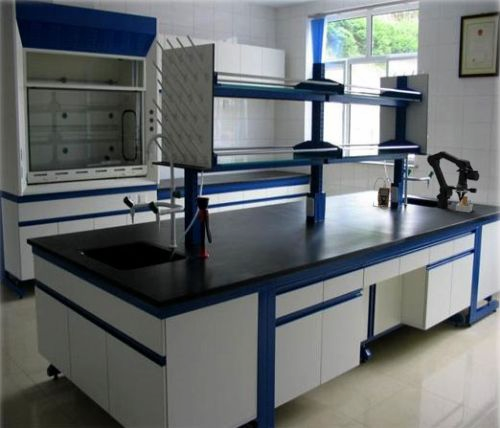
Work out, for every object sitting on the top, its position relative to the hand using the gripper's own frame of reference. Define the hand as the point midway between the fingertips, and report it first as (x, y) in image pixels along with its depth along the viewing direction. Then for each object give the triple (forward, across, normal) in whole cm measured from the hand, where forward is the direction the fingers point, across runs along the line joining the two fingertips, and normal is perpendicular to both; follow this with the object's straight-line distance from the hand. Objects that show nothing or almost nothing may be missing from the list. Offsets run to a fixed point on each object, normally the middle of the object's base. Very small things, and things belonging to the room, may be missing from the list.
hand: (460, 201), depth 381 cm
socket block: (+6, +2, +4) cm, 8 cm away
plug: (+5, +2, +4) cm, 7 cm away
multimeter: (+7, -47, -20) cm, 52 cm away
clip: (+2, +4, +4) cm, 6 cm away
